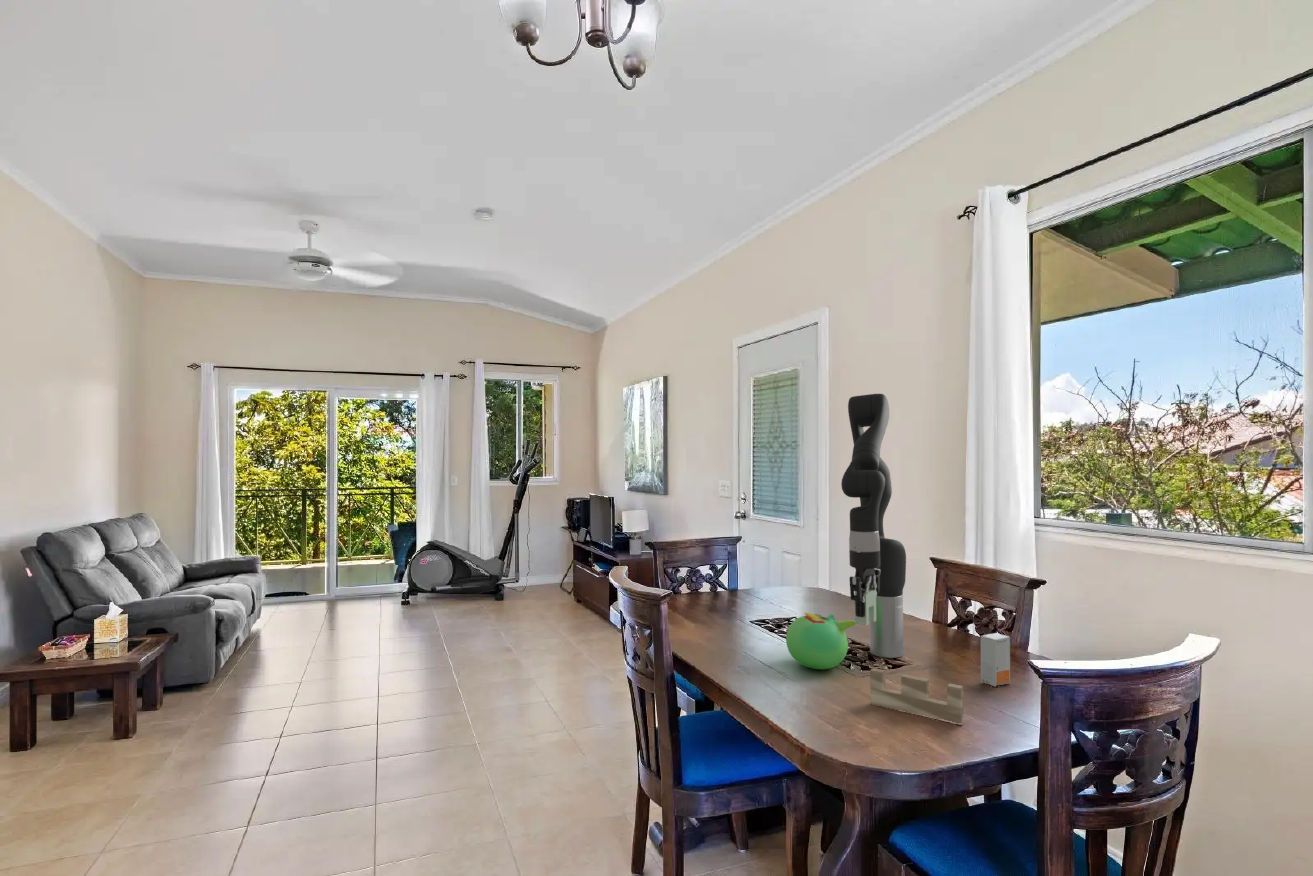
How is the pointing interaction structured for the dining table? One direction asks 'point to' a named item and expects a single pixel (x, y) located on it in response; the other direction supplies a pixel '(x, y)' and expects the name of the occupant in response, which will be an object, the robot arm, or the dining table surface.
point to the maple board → (917, 697)
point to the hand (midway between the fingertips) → (865, 613)
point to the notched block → (868, 609)
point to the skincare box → (995, 658)
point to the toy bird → (818, 640)
